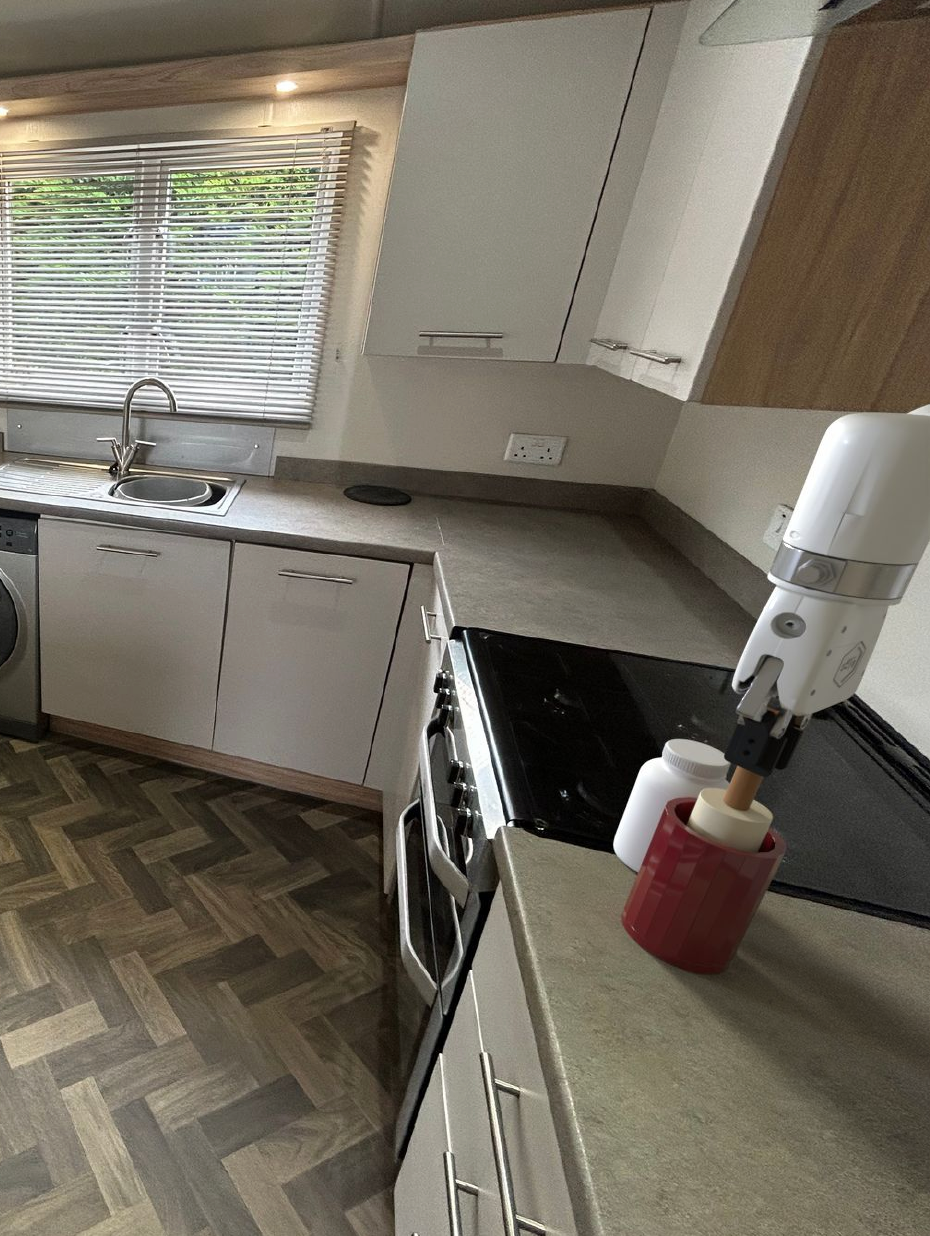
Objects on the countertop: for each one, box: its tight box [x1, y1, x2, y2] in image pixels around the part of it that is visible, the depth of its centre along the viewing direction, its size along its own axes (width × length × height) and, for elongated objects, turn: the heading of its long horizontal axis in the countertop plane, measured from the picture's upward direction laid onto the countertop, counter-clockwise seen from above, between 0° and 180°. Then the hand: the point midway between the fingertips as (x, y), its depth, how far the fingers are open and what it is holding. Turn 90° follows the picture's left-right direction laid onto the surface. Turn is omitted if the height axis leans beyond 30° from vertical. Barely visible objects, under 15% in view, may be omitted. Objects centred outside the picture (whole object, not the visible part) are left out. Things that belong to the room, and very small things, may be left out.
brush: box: [687, 707, 779, 853], centre depth 65 cm, size 5×5×17 cm
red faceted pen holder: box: [620, 797, 787, 975], centre depth 69 cm, size 8×8×14 cm
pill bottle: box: [612, 738, 732, 873], centre depth 78 cm, size 8×8×15 cm
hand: (754, 763), depth 64 cm, fingers closed on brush
